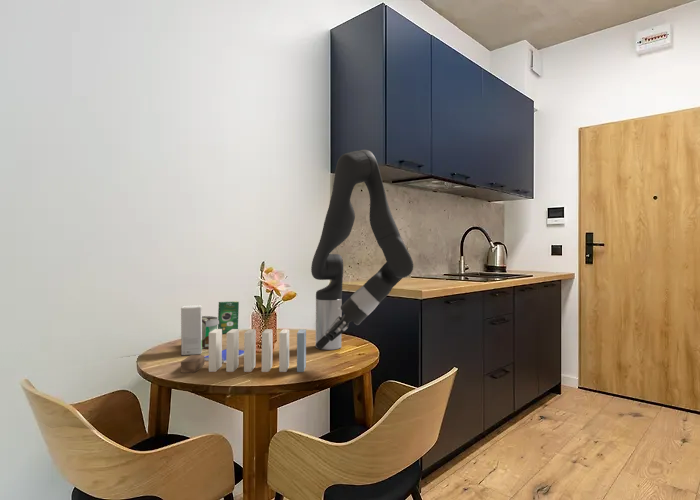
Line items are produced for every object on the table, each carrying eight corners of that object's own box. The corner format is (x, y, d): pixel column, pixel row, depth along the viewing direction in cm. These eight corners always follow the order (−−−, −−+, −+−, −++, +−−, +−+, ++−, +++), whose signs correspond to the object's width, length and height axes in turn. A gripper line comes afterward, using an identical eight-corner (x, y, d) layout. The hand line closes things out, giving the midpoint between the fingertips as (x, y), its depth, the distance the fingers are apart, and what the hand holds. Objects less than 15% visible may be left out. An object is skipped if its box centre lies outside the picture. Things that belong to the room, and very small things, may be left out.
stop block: (204, 364, 130) (204, 354, 130) (195, 372, 122) (195, 361, 122) (190, 364, 130) (191, 354, 130) (180, 372, 122) (180, 361, 122)
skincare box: (201, 354, 143) (201, 307, 143) (179, 355, 141) (180, 308, 141) (202, 349, 151) (202, 304, 151) (182, 350, 149) (182, 304, 149)
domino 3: (255, 366, 129) (255, 329, 129) (251, 371, 123) (251, 333, 123) (248, 366, 129) (249, 329, 129) (243, 371, 123) (244, 332, 123)
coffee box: (236, 331, 184) (236, 300, 184) (238, 332, 181) (239, 301, 181) (217, 333, 179) (217, 301, 179) (219, 334, 177) (219, 302, 177)
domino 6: (305, 366, 129) (306, 329, 129) (303, 371, 123) (304, 333, 123) (299, 366, 129) (299, 329, 129) (296, 371, 123) (297, 333, 123)
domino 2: (238, 366, 129) (238, 329, 129) (233, 371, 123) (233, 332, 123) (231, 366, 129) (232, 329, 129) (226, 371, 123) (226, 332, 123)
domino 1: (221, 366, 129) (221, 329, 129) (215, 371, 123) (215, 332, 123) (215, 366, 129) (215, 329, 129) (208, 371, 123) (208, 332, 123)
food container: (223, 347, 153) (224, 319, 153) (206, 349, 150) (206, 320, 150) (213, 341, 163) (213, 315, 163) (196, 343, 160) (196, 316, 160)
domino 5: (289, 366, 129) (289, 329, 129) (286, 371, 123) (286, 333, 123) (282, 366, 129) (282, 329, 129) (279, 371, 123) (279, 333, 123)
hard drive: (224, 359, 133) (247, 350, 145) (202, 356, 136) (226, 348, 147) (224, 364, 133) (246, 355, 145) (202, 361, 136) (226, 353, 147)
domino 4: (272, 366, 129) (272, 329, 129) (268, 371, 123) (268, 333, 123) (265, 366, 129) (265, 329, 129) (261, 371, 123) (261, 333, 123)
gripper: (350, 293, 133) (310, 333, 133) (351, 298, 120) (306, 342, 120) (368, 311, 133) (327, 351, 133) (370, 317, 120) (325, 362, 120)
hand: (317, 347), depth 126 cm, fingers closed
